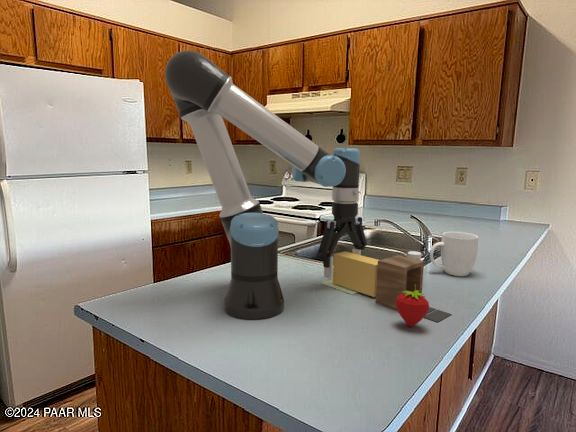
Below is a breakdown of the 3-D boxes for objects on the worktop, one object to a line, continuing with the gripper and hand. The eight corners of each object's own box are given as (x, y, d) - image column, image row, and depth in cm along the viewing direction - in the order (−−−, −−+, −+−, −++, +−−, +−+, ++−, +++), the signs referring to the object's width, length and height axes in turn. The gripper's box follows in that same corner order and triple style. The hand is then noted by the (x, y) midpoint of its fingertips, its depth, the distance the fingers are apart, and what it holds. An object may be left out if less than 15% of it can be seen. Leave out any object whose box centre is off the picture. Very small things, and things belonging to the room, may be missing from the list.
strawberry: (397, 318, 96) (400, 278, 95) (430, 325, 93) (433, 284, 91) (390, 327, 91) (392, 285, 90) (424, 335, 88) (427, 291, 86)
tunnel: (402, 312, 100) (404, 267, 98) (375, 302, 106) (377, 260, 104) (421, 303, 106) (424, 261, 104) (395, 295, 112) (397, 255, 110)
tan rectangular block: (374, 297, 109) (375, 265, 107) (332, 283, 120) (333, 253, 118) (384, 293, 112) (386, 261, 110) (343, 279, 123) (344, 251, 121)
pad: (352, 294, 112) (352, 293, 112) (320, 283, 121) (320, 282, 121) (371, 287, 118) (371, 286, 118) (340, 277, 127) (340, 277, 127)
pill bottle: (409, 279, 125) (411, 249, 124) (425, 284, 122) (427, 252, 120) (400, 283, 122) (402, 252, 120) (416, 288, 118) (418, 256, 116)
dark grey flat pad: (437, 322, 94) (437, 321, 94) (407, 312, 100) (407, 311, 100) (451, 314, 99) (451, 314, 99) (421, 305, 105) (421, 304, 105)
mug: (435, 278, 127) (438, 238, 125) (422, 268, 138) (425, 231, 135) (481, 278, 127) (485, 238, 125) (465, 268, 138) (468, 231, 136)
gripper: (326, 206, 106) (323, 285, 109) (380, 200, 121) (377, 268, 125) (306, 203, 111) (304, 278, 115) (360, 197, 127) (357, 263, 130)
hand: (342, 273), depth 120 cm, fingers open, 12 cm apart
